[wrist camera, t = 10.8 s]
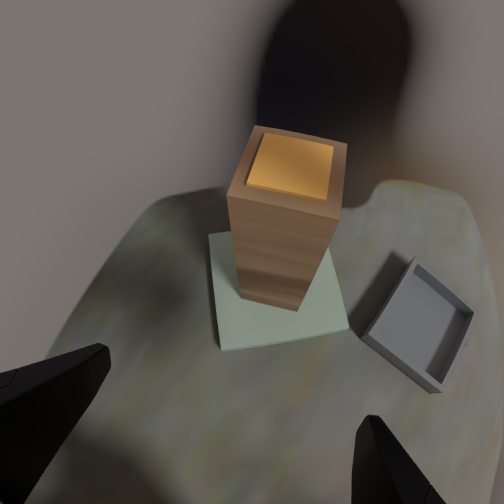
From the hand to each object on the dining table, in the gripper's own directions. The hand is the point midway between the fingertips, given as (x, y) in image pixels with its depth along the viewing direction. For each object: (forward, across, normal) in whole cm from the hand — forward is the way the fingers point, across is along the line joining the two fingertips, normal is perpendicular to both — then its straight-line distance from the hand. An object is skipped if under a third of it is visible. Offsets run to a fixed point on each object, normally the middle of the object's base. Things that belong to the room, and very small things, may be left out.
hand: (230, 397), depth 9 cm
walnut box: (+16, 0, +2) cm, 16 cm away
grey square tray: (+15, -14, +4) cm, 21 cm away
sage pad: (+16, 0, +3) cm, 16 cm away
